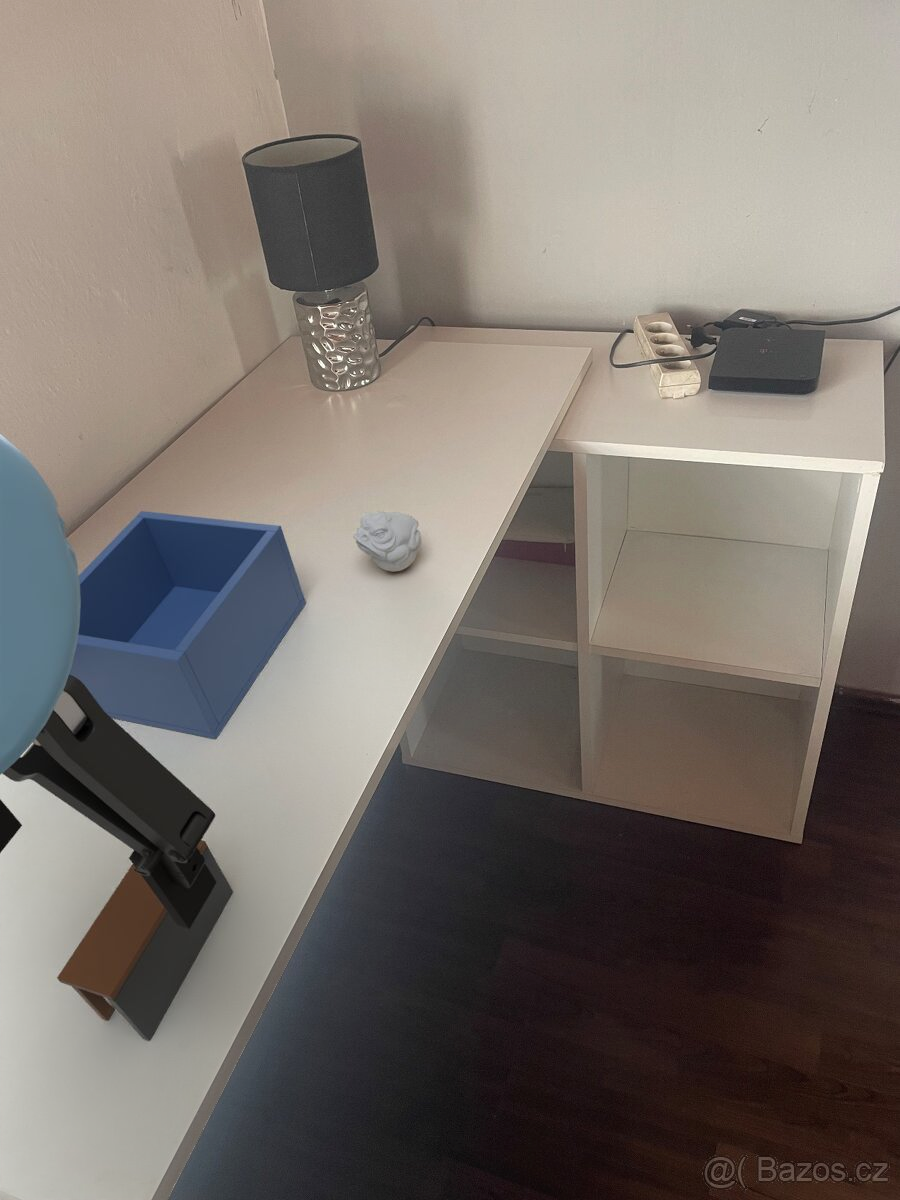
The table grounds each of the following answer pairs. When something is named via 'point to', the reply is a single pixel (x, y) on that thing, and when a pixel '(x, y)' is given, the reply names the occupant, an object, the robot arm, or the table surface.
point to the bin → (183, 618)
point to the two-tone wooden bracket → (141, 951)
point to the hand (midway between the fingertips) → (95, 872)
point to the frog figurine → (389, 539)
